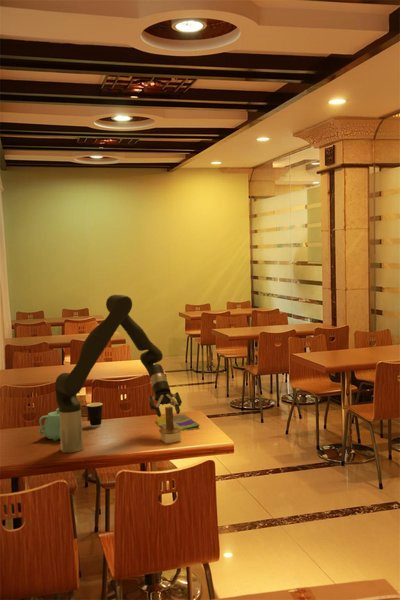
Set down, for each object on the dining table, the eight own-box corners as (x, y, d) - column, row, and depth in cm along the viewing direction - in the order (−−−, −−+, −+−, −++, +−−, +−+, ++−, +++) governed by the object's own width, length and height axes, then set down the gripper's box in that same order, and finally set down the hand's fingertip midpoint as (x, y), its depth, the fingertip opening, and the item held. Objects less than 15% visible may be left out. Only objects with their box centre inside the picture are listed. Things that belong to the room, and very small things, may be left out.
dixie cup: (88, 424, 315) (87, 403, 314) (104, 423, 316) (103, 401, 315) (87, 428, 307) (85, 406, 307) (103, 427, 308) (101, 405, 307)
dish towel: (164, 434, 291) (164, 428, 291) (154, 422, 314) (154, 417, 314) (201, 429, 295) (200, 424, 295) (188, 418, 319) (188, 413, 319)
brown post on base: (163, 435, 272) (161, 410, 271) (156, 430, 281) (155, 406, 280) (183, 432, 275) (182, 407, 275) (176, 427, 284) (175, 403, 284)
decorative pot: (62, 443, 282) (60, 414, 281) (35, 440, 290) (34, 411, 289) (85, 434, 296) (84, 406, 295) (60, 431, 304) (58, 403, 304)
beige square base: (165, 443, 274) (165, 434, 273) (161, 439, 280) (160, 430, 280) (180, 440, 276) (180, 431, 276) (175, 437, 283) (175, 428, 283)
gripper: (146, 382, 283) (155, 412, 273) (176, 378, 288) (186, 407, 278) (143, 391, 288) (152, 421, 278) (173, 388, 293) (182, 417, 283)
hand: (169, 414), depth 278 cm, fingers open, 8 cm apart
